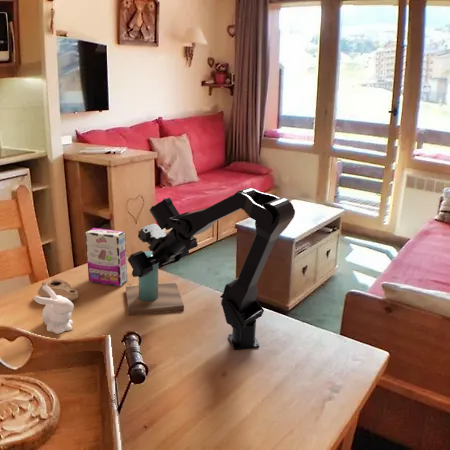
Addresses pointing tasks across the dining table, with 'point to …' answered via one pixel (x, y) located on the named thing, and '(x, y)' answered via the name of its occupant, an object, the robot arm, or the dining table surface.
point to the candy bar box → (106, 256)
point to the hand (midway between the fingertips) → (145, 270)
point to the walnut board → (165, 302)
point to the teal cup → (149, 283)
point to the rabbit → (56, 311)
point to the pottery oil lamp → (58, 289)
